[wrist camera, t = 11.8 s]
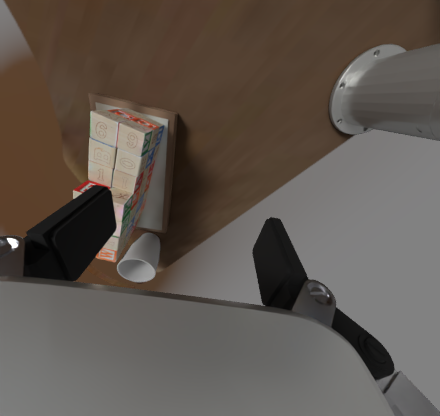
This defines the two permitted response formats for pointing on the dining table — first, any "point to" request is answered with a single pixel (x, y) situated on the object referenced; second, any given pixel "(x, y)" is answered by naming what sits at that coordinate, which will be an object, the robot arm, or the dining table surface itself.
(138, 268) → the cup
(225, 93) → the dining table surface
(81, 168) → the dining table surface
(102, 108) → the picture frame
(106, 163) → the stack of blocks
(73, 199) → the robot arm
